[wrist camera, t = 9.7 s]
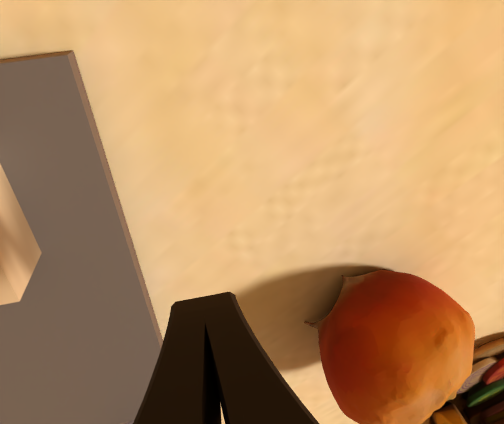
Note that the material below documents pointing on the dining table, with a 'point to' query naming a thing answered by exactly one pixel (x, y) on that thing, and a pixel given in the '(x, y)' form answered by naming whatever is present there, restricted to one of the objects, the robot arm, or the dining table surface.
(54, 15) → the dining table surface
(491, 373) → the toy sandwich meal
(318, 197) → the dining table surface
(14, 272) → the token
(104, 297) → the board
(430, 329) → the fruit
